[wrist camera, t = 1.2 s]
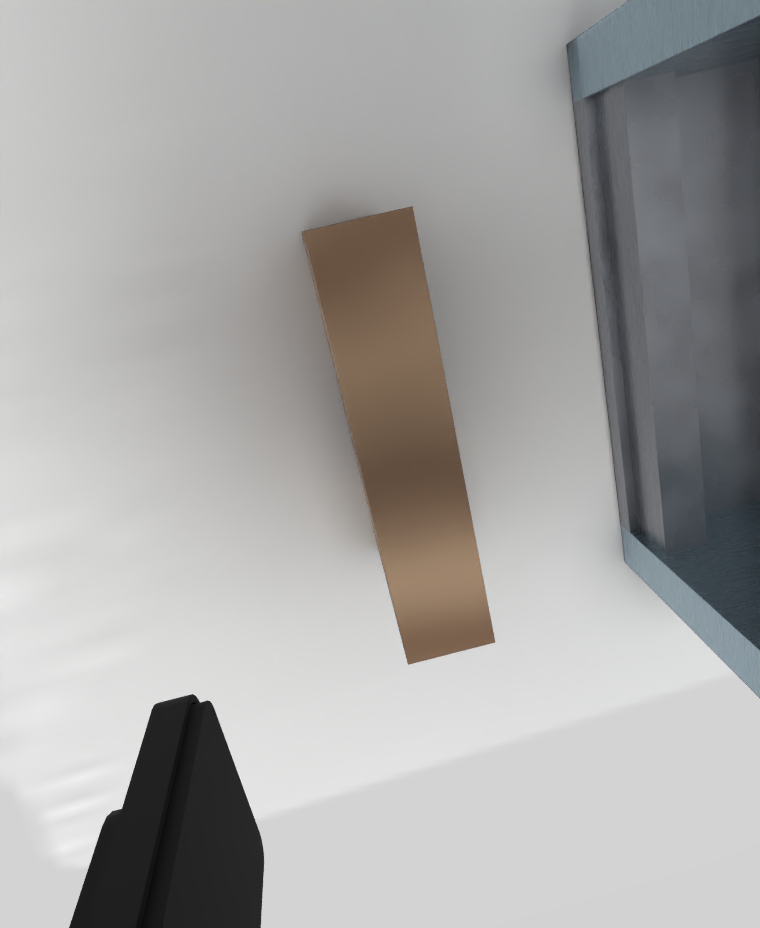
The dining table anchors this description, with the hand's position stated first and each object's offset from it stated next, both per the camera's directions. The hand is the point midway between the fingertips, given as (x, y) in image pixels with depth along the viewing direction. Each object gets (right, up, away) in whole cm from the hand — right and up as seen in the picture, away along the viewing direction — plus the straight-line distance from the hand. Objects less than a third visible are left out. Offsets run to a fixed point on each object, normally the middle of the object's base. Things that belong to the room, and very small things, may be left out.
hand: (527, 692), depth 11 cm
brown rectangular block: (-2, +6, +19) cm, 20 cm away
